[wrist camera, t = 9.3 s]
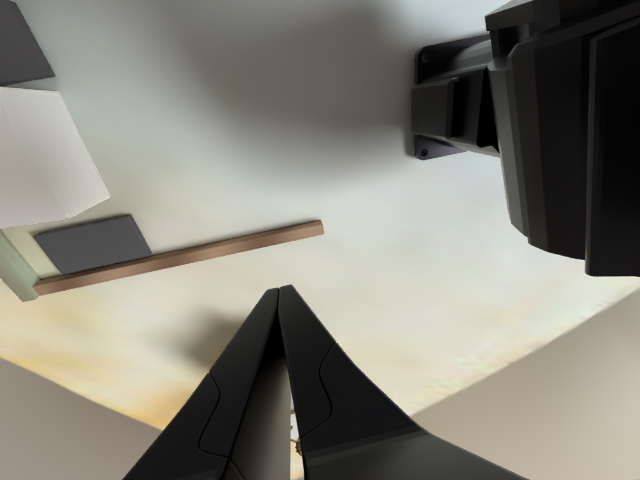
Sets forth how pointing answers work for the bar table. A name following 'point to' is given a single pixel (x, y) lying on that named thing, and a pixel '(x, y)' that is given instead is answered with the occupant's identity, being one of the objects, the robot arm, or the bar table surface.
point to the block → (43, 161)
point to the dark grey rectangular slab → (83, 240)
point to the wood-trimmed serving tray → (136, 261)
